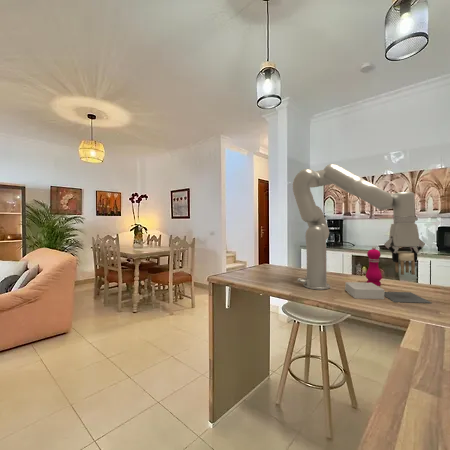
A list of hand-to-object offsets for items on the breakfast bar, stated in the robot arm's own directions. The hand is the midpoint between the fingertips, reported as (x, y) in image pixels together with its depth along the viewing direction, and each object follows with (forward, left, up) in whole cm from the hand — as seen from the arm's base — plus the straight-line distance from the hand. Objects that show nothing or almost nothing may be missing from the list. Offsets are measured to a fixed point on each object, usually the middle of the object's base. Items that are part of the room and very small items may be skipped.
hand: (404, 261), depth 110 cm
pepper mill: (-3, +21, -16) cm, 27 cm away
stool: (0, 0, -5) cm, 5 cm away
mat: (0, 0, -16) cm, 16 cm away
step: (-15, +3, -16) cm, 22 cm away
